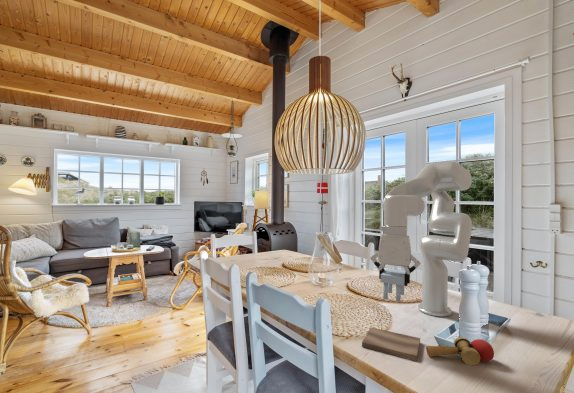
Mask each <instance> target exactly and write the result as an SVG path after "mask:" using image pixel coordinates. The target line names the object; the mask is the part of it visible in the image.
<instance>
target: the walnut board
mask: <svg viewBox="0 0 574 393" xmlns="http://www.w3.org/2000/svg"><path fill="white" fill-rule="evenodd" d="M420 344H421V337H420V338H419V337H416V336H413V335H407V334H402V333H398V332H394V331H389V330H386V329H385V330H384V329H380V328H376V327H371V326H370V327H369V330H368V331H367V333H366V335H365V336H364V338H363V340H362V342H361V347H362V348H365V349H369V350H373V351H377V352H381V353H384V354H387V355H388V354H389V355H392V356H396V357H401V358H403V359H408V360H411V361H415V362H417V361H418V356H419V350H420V346H421V345H420Z"/></svg>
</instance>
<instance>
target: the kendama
mask: <svg viewBox="0 0 574 393" xmlns="http://www.w3.org/2000/svg"><path fill="white" fill-rule="evenodd" d="M453 345H454V346H444V345H425V346H426V347H425V350H426V354H427V356H428V357H429V358H432V357H437V356H438V357H439V356H449V355H450V356H451V355H456V354H460V358H461V360H462V361H463V362H464V364H466V365H468V366H475V365H477V364H479V363H480V362H481V363H489V362H491V361H492V360H493V359H494V357H495V356H494V355H495V351H494V348H493V346H492V345H491V343H489V342H488V341H487V340H484V339H480V338H477V339H474V340H472V341H471V342H470V341H469V339H467V337H464V336H458V337H456V338H455V339H454V341H453Z"/></svg>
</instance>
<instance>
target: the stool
mask: <svg viewBox="0 0 574 393" xmlns="http://www.w3.org/2000/svg"><path fill="white" fill-rule="evenodd" d="M384 270H385V271H384V272H383V273H382V274H381V279H380V283H383V289H382V290H383V296H382V297H383V298H382V299H383V300H389V298H388V297H389V296H388V295H389V294H392V293H393V285H395V302H399V303H401V300H402V299H401V298H402V297H401V296H405V286H404V283H405V272H406V271H405V270H399V269H392V268H391V269H390V268H385V269H384Z"/></svg>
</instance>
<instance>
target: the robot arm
mask: <svg viewBox="0 0 574 393" xmlns="http://www.w3.org/2000/svg"><path fill="white" fill-rule="evenodd" d="M472 183H473V178H472V175H471V173H470V172H469V170H468V169H466V168H465V167H464V166H463V165H461V164H460V163H457V162H455V161H444V162H442V161H441V162H432V163H428V164H426V165H424V166H423V167H422V169H420V171H419V172H418V173H417V174H416V175H415V177H414V178H412V179H410V180H408V181H404V182H403V183H401V184H399V185H396V186H394V187H393V188H392V189H390V190H389V191H388V193H386V195H385V197H384V198H383V200H382V204H381V207H382V210H383V226H379V230H378V231H380V232H382V234H380V239H379V245H378V251H377V252H376V253H375V254H373V255H372V256H370V260H371V261H372V263H373V264H374V265H375V267H376V268H377V269H378V272H379V275H378V276H379V277H378V279H379V280H381V274H382V273H383V272H384V271H385V270H386V269H385V268H384V267H386V265H387V266H396V267H402V268H403V269H404V271H406V272H405V283H404V287H408V285H409V284H410V283H411V273H413V272H414V271H415V270H416V269H417V268H419V267H420V265H421V264H422V266H421V268H422V271H421V272H422V275H421V276H422V278H421V280H422V281H421V302H420V303H419V304H418V305H417V308H418V310H419V311H420V312H422V313H423V314H426V315H429V316H433V317H444V318H445V317H450V316H452V313H453V312H452V311H453V310H452V309H451V308H450V307H448V301H449V300H448V296H449V295H448V293H449V292H448V291H449V290H448V289H449V287H448V286H449V284H448V283H449V282H448V280H449V278H448V277H449V273H448V272H449V271H448V267H447V264H446V263H445V262H444V261H449V262H457V263H463V262H465V261H466V259H468V258H467V257H468V255H469V249H470V242H471V236H472V229H473V222H472V219H471V217H470V215H469V214H467V213H464V212H454V211H455V210H454V209H455V201H454V199H453V198H452V196H450V195H449V193H448V192H449V191H451V192H452V191H454V192H455V191H457V192H458V191H460V192H461V191H463V192H464V191H467V190H470V189H469V188H471V186H472ZM447 191H448V192H447ZM430 195H431V198H432V199H431V200H432V206H431V210H430V216H429V220H428V229H429V230H430V231H431V232H432V233H433V234H435V235H433V234H429V235H425V236H423V237H422V238H421V239H420V242H419V250H420V254H421V261H422V262H420V260H418V259H417V258H416V257H415V256H414V255H412V247H411V239H410V235H408V217H419V216H420V215H422V214H423V213H424V211H425V206H426V205H425V201H424V200H423V198H425V197H428V196H430ZM436 234H439V235H436ZM443 235H444V236H443ZM446 235H447V236H446ZM452 236H453V237H452ZM454 236H455V237H454ZM377 258H378V259H377ZM411 262H413V263H414V264H413V265H412V266H411V267H410V264H411Z"/></svg>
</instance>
